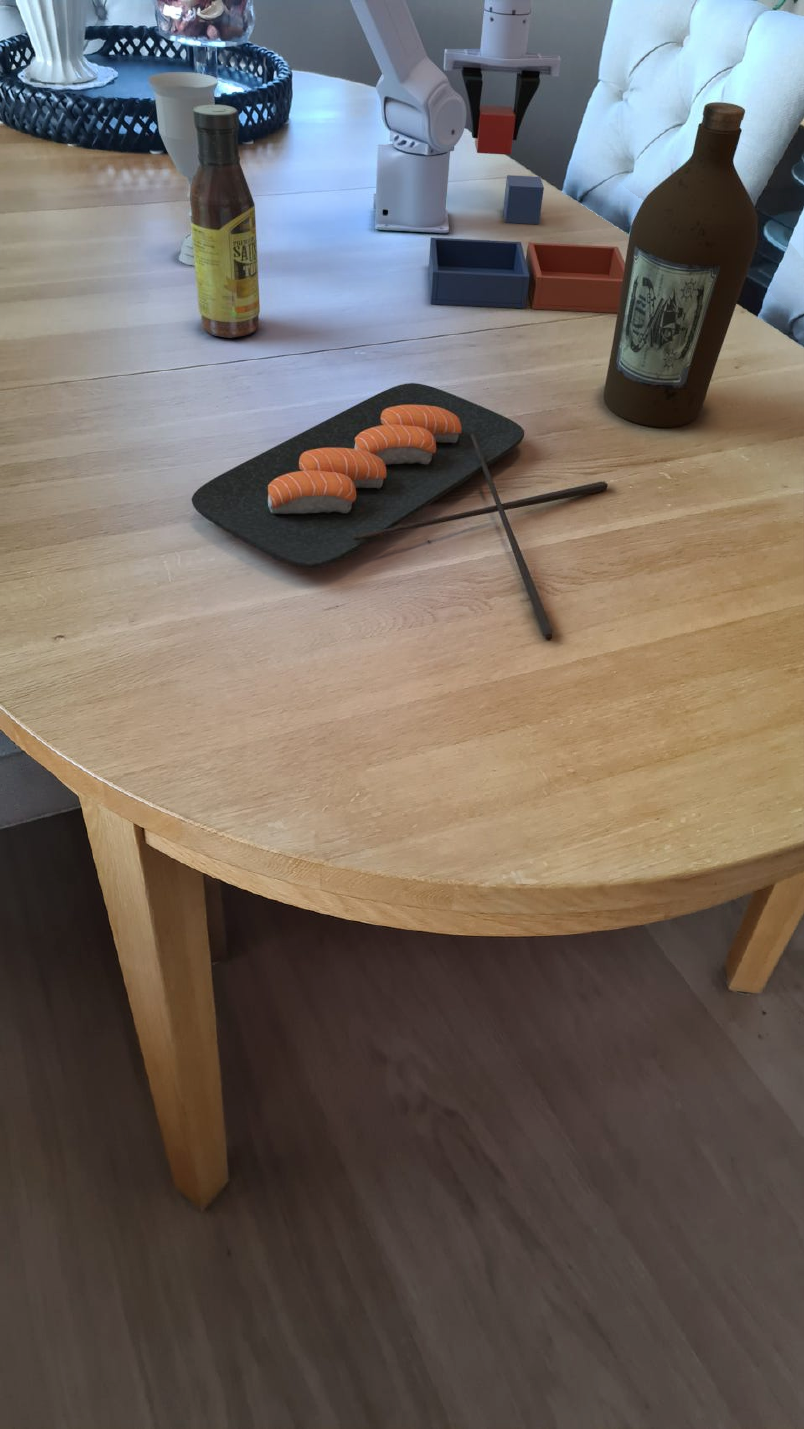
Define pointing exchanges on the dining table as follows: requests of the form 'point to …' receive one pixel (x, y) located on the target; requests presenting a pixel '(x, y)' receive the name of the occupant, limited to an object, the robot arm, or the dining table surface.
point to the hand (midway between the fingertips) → (494, 137)
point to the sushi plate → (369, 479)
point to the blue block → (523, 199)
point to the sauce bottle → (223, 228)
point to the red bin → (574, 277)
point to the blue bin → (478, 273)
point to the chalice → (182, 125)
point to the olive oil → (682, 280)
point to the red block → (495, 130)
